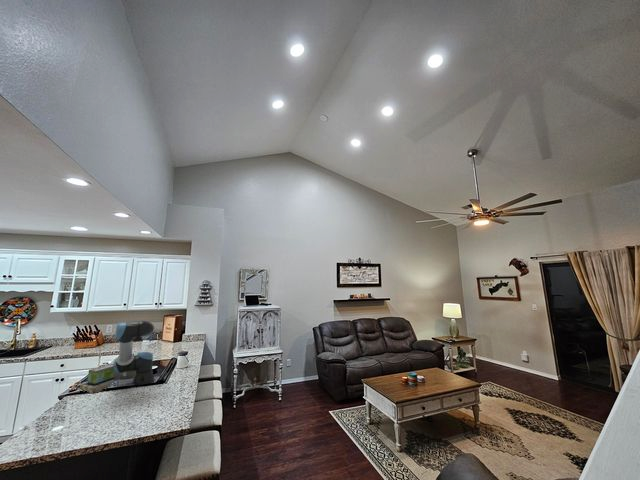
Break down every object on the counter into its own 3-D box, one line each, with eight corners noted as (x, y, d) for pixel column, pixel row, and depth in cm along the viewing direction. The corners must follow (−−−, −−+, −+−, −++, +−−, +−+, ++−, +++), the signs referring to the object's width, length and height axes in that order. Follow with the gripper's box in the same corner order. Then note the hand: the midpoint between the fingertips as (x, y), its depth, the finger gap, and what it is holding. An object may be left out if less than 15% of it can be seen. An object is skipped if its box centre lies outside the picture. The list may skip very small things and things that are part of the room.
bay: (108, 388, 219) (108, 383, 219) (93, 393, 210) (93, 388, 210) (94, 385, 226) (94, 380, 226) (79, 390, 217) (80, 384, 217)
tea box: (95, 390, 215) (96, 370, 217) (86, 389, 218) (87, 369, 220) (114, 383, 229) (116, 364, 231) (106, 382, 232) (107, 363, 234)
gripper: (131, 345, 251) (129, 372, 247) (116, 349, 239) (114, 377, 235) (136, 346, 248) (135, 373, 245) (121, 349, 236) (119, 378, 233)
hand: (124, 375), depth 240 cm, fingers closed
